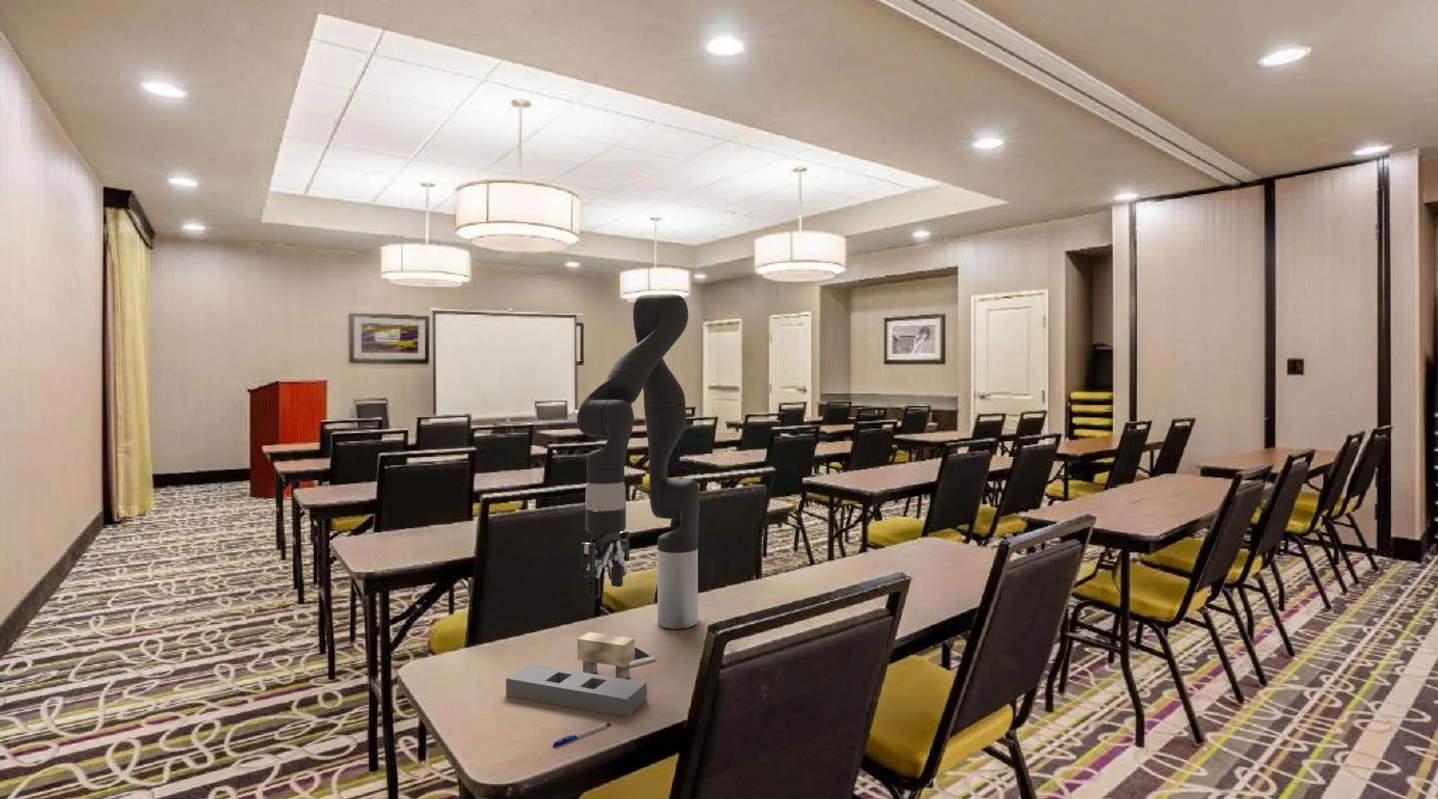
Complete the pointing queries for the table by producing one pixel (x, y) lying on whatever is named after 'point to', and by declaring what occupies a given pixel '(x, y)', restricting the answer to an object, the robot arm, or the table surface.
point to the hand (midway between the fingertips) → (605, 591)
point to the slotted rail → (577, 689)
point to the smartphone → (641, 657)
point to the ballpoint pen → (579, 735)
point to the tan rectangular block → (606, 652)
